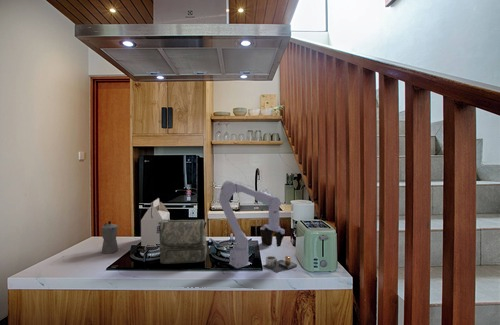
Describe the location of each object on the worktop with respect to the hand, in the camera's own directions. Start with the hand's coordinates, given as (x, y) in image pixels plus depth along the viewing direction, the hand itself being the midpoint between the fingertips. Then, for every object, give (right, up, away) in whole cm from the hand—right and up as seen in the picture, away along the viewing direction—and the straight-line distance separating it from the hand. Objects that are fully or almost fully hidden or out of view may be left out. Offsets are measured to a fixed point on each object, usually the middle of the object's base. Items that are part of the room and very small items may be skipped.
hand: (273, 244), depth 149 cm
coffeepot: (-96, -9, +18) cm, 98 cm away
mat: (+2, -10, -6) cm, 12 cm away
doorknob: (+7, -9, -6) cm, 13 cm away
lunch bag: (-49, -10, +6) cm, 51 cm away
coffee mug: (-1, -9, +32) cm, 34 cm away
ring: (-2, -9, -5) cm, 10 cm away
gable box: (-74, -9, +35) cm, 82 cm away
